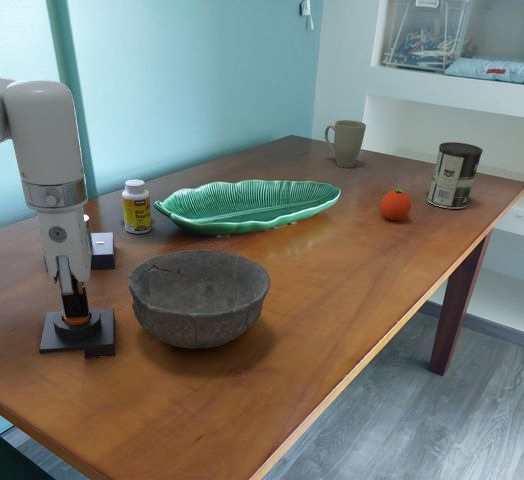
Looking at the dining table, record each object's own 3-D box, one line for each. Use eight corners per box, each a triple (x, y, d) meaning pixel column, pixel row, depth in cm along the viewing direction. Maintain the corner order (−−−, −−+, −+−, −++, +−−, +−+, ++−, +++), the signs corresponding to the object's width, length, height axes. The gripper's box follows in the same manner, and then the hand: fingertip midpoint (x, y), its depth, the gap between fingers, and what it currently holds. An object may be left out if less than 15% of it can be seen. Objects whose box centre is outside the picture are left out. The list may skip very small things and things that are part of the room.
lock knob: (92, 248, 99) (88, 220, 96) (67, 249, 98) (62, 222, 95) (92, 238, 103) (88, 211, 100) (68, 239, 102) (63, 212, 99)
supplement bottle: (136, 237, 112) (132, 188, 106) (120, 229, 115) (114, 181, 109) (157, 230, 115) (154, 182, 109) (140, 222, 118) (137, 176, 112)
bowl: (265, 302, 92) (268, 249, 87) (268, 376, 76) (273, 316, 70) (144, 298, 91) (139, 244, 86) (120, 372, 75) (113, 311, 69)
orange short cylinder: (64, 333, 77) (62, 321, 76) (66, 320, 80) (64, 309, 79) (90, 332, 78) (88, 320, 77) (91, 319, 81) (89, 307, 80)
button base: (42, 362, 75) (36, 338, 73) (48, 324, 83) (44, 302, 81) (115, 356, 78) (112, 333, 75) (114, 319, 85) (112, 298, 83)
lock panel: (46, 272, 97) (43, 256, 95) (51, 248, 105) (49, 233, 103) (114, 268, 100) (113, 253, 98) (114, 246, 108) (113, 231, 106)
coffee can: (464, 198, 143) (479, 144, 135) (469, 212, 135) (486, 154, 126) (425, 194, 144) (437, 140, 136) (428, 207, 136) (441, 150, 128)
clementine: (383, 210, 132) (389, 182, 128) (411, 216, 130) (418, 187, 126) (375, 221, 126) (380, 191, 122) (404, 227, 124) (410, 197, 120)
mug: (355, 160, 167) (362, 120, 160) (362, 170, 159) (369, 128, 152) (321, 159, 166) (326, 118, 159) (326, 169, 158) (331, 126, 151)
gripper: (84, 211, 62) (103, 341, 73) (88, 171, 74) (105, 288, 85) (15, 213, 61) (45, 345, 71) (31, 172, 72) (55, 291, 83)
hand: (77, 314), depth 78 cm, fingers closed
